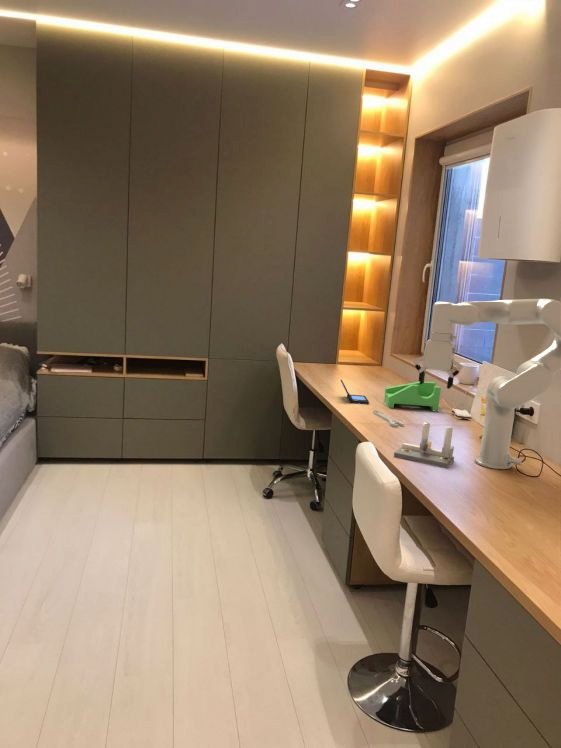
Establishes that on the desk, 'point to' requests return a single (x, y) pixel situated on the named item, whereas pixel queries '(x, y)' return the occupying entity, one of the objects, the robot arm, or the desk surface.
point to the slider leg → (425, 438)
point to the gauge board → (423, 458)
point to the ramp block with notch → (414, 395)
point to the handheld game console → (356, 397)
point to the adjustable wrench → (389, 419)
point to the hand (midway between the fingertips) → (435, 385)
